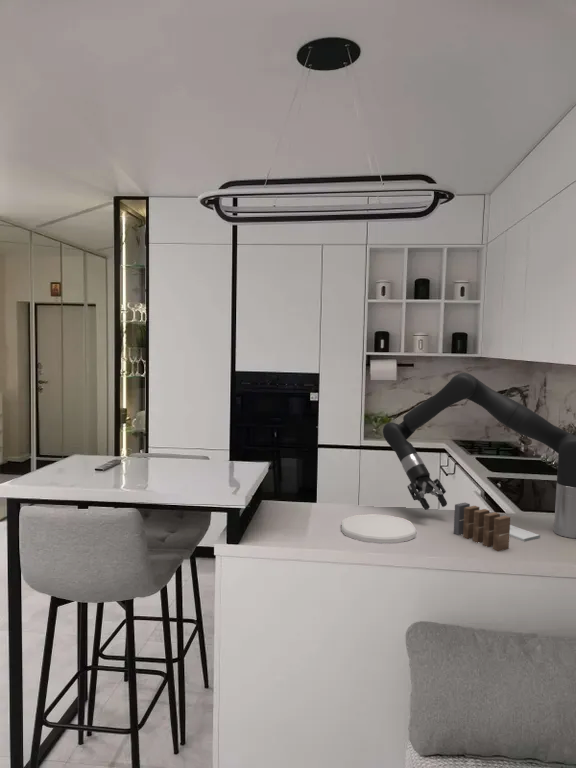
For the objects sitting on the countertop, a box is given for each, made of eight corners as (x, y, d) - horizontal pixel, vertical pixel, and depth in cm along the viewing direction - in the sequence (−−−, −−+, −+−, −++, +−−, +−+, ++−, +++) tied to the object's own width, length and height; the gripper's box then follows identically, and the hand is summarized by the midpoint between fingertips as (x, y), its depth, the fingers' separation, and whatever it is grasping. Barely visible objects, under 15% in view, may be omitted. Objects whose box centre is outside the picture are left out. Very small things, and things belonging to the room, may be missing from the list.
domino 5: (492, 549, 177) (494, 517, 177) (503, 546, 180) (504, 515, 179) (498, 551, 176) (499, 519, 175) (508, 548, 178) (510, 517, 177)
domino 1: (453, 533, 191) (454, 504, 190) (463, 531, 194) (465, 502, 193) (458, 535, 189) (459, 506, 188) (468, 532, 192) (469, 504, 191)
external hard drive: (523, 543, 185) (493, 531, 195) (540, 539, 189) (509, 528, 199) (524, 538, 185) (493, 527, 195) (540, 534, 189) (509, 523, 199)
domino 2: (462, 537, 188) (464, 507, 187) (473, 534, 190) (474, 505, 189) (467, 539, 186) (469, 509, 185) (478, 536, 188) (479, 507, 188)
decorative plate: (408, 509, 204) (422, 533, 179) (408, 521, 205) (422, 546, 180) (339, 507, 205) (343, 531, 180) (339, 518, 205) (343, 543, 181)
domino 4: (482, 545, 181) (484, 514, 180) (493, 542, 183) (494, 512, 182) (487, 547, 179) (489, 516, 178) (498, 544, 182) (500, 513, 181)
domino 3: (472, 541, 184) (474, 510, 183) (483, 538, 187) (484, 508, 186) (477, 543, 182) (479, 512, 182) (488, 540, 185) (489, 510, 184)
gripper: (405, 465, 203) (427, 504, 195) (434, 461, 211) (456, 499, 202) (395, 476, 208) (416, 515, 200) (423, 472, 216) (444, 509, 207)
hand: (436, 507), depth 201 cm, fingers open, 8 cm apart
